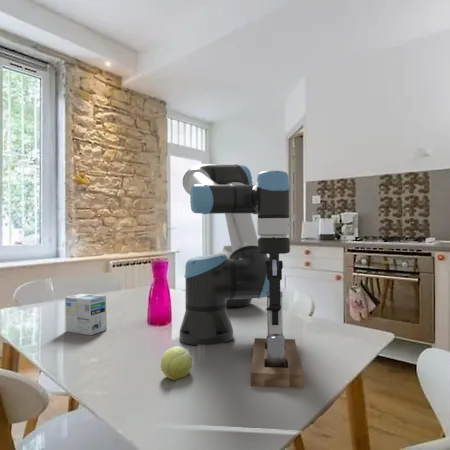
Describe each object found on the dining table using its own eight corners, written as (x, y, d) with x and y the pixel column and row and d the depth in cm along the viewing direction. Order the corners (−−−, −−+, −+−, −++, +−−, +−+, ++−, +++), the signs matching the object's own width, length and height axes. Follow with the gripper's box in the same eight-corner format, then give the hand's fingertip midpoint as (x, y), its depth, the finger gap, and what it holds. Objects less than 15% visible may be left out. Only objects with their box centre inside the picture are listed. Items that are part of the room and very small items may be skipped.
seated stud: (267, 378, 74) (266, 339, 74) (267, 371, 78) (266, 333, 77) (285, 379, 74) (284, 339, 73) (284, 371, 77) (284, 334, 77)
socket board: (250, 388, 71) (250, 372, 71) (254, 350, 92) (254, 338, 92) (303, 390, 69) (303, 374, 69) (294, 351, 91) (294, 339, 91)
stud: (267, 349, 85) (266, 293, 85) (267, 344, 88) (266, 290, 88) (283, 349, 84) (282, 293, 84) (282, 344, 88) (282, 290, 88)
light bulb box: (107, 330, 112) (107, 295, 112) (91, 336, 106) (90, 299, 106) (81, 326, 117) (81, 292, 117) (64, 332, 111) (64, 296, 111)
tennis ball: (195, 347, 75) (180, 338, 81) (166, 358, 72) (152, 348, 77) (199, 376, 76) (184, 366, 81) (170, 389, 72) (157, 377, 78)
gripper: (292, 237, 78) (293, 347, 78) (287, 235, 94) (289, 326, 94) (256, 237, 79) (258, 346, 79) (258, 235, 95) (259, 325, 95)
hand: (275, 335), depth 86 cm, fingers closed on stud, 4 cm apart
